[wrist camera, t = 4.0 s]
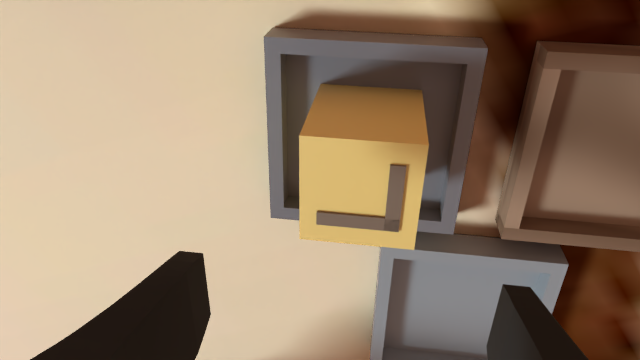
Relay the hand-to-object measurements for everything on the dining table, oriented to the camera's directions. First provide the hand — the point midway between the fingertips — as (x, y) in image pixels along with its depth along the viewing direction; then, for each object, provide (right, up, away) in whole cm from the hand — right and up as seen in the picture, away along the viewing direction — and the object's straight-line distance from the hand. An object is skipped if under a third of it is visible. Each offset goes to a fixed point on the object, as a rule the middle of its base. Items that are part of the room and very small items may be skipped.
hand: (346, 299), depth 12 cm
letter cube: (+1, +5, +9) cm, 10 cm away
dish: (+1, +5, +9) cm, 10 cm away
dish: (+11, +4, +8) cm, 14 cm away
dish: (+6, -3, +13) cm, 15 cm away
